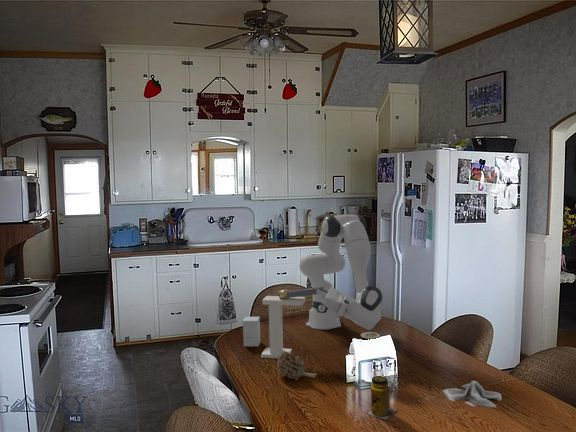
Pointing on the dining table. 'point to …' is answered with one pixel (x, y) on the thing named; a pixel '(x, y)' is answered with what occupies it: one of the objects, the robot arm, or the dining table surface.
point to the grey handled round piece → (292, 366)
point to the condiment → (380, 398)
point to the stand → (277, 324)
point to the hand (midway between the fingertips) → (317, 289)
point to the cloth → (473, 394)
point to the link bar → (298, 292)
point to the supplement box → (251, 331)
